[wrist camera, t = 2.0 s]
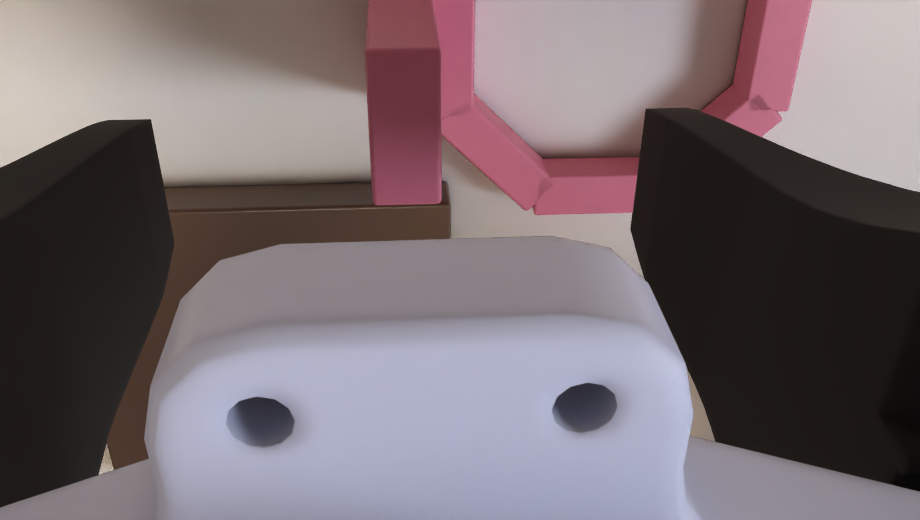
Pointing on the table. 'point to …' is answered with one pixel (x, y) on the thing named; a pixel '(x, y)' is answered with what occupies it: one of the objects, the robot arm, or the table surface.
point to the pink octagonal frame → (493, 142)
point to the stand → (246, 230)
